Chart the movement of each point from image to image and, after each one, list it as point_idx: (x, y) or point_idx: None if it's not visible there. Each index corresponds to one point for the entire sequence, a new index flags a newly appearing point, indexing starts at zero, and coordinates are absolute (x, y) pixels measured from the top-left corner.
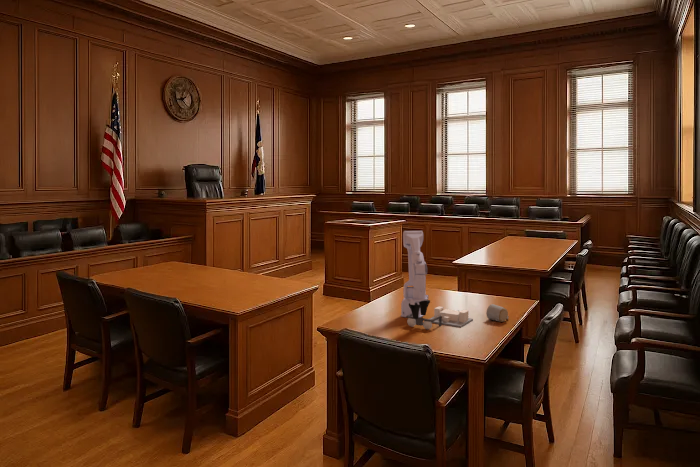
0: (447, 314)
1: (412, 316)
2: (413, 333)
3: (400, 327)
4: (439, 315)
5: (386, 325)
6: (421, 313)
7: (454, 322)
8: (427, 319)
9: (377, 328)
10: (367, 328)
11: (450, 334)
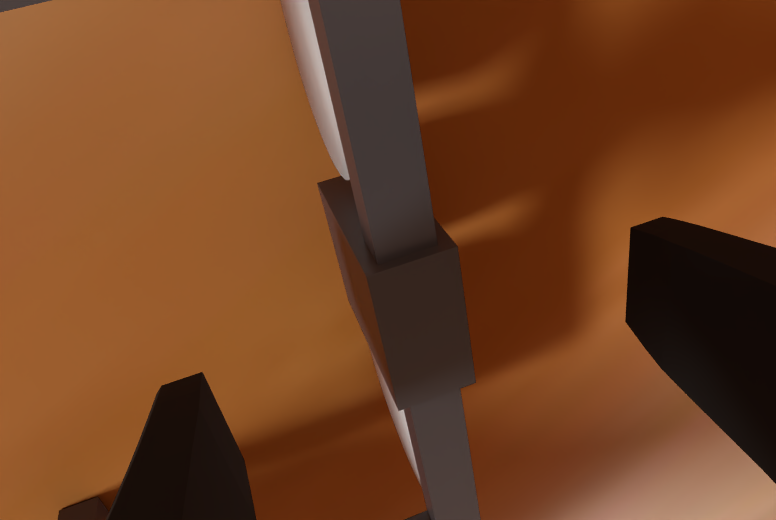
0: None
1: (431, 479)
2: (705, 20)
3: (535, 378)
4: None
5: (562, 506)
6: (242, 488)
7: None
8: (406, 58)
9: (708, 459)
10: (748, 494)
11: None
